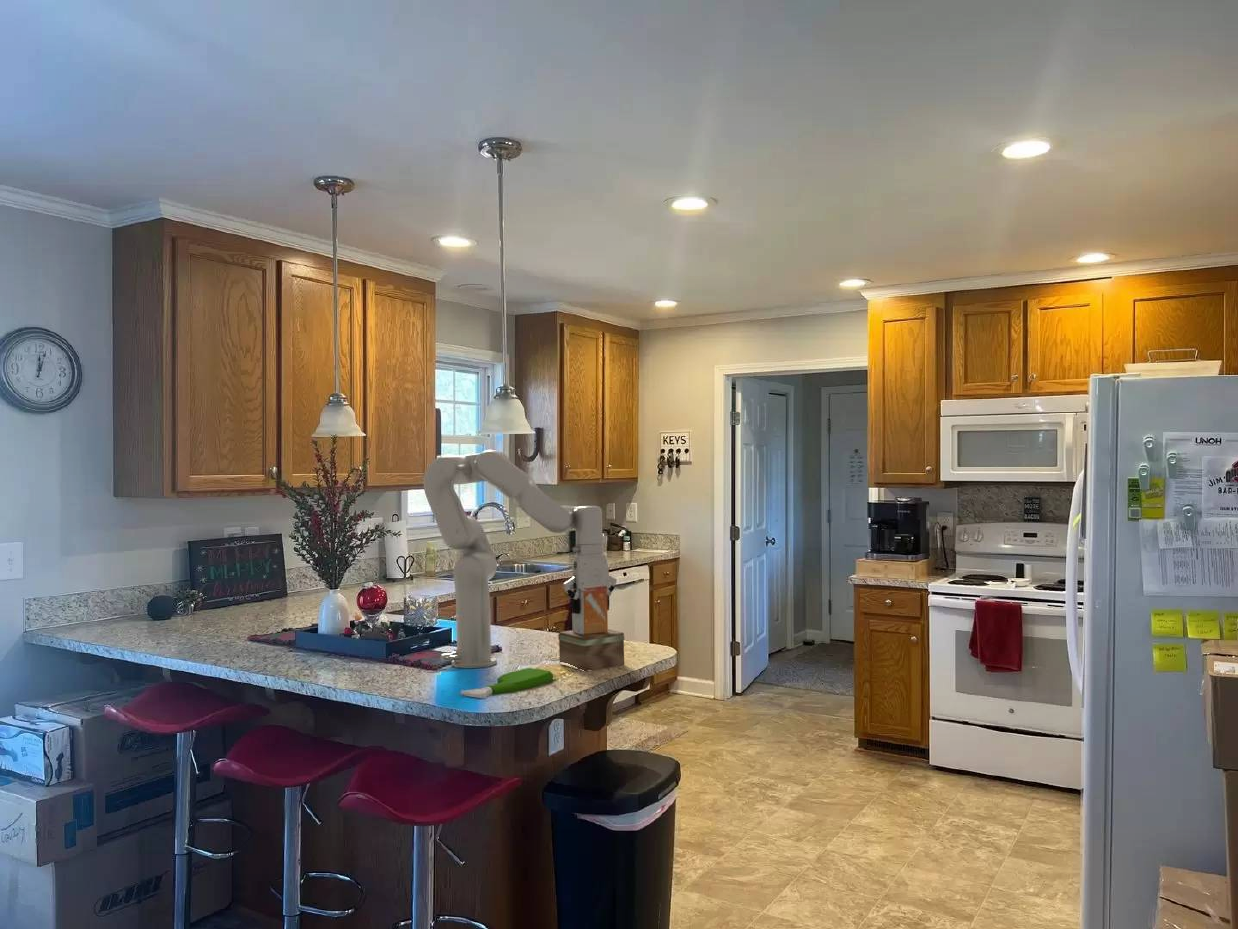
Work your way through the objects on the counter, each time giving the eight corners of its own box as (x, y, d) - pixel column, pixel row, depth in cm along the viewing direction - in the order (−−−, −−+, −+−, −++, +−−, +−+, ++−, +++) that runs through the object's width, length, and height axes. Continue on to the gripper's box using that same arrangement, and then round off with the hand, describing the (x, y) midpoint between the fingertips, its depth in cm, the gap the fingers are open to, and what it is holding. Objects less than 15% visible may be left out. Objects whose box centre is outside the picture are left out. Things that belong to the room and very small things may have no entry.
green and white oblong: (557, 683, 232) (488, 704, 212) (525, 678, 238) (456, 698, 219) (556, 671, 232) (487, 691, 212) (525, 666, 238) (456, 686, 219)
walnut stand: (584, 672, 242) (584, 638, 242) (558, 664, 253) (558, 632, 253) (625, 665, 250) (624, 632, 250) (598, 658, 261) (597, 626, 261)
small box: (583, 635, 247) (583, 587, 247) (571, 632, 252) (571, 585, 253) (608, 632, 252) (607, 585, 252) (596, 629, 257) (595, 583, 257)
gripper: (570, 552, 244) (571, 616, 244) (622, 549, 254) (623, 610, 254) (555, 551, 250) (557, 613, 250) (607, 547, 260) (608, 607, 260)
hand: (590, 611), depth 252 cm, fingers open, 9 cm apart
